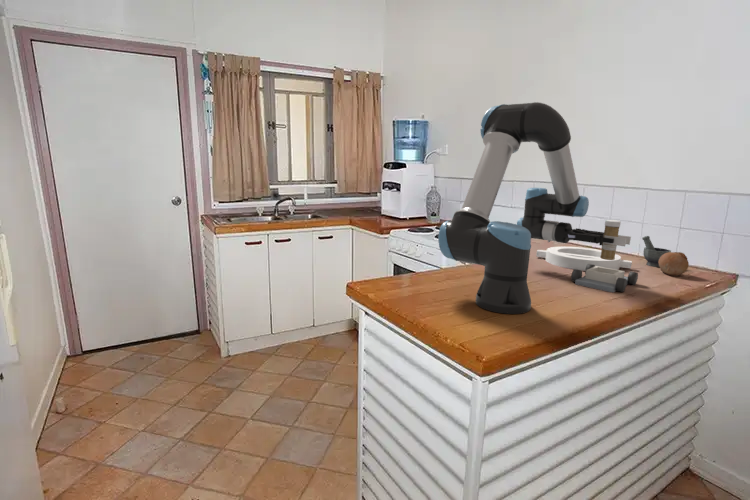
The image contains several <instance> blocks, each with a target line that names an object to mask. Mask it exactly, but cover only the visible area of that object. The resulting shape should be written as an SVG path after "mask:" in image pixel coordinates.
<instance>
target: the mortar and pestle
mask: <svg viewBox="0 0 750 500" xmlns="http://www.w3.org/2000/svg"><path fill="white" fill-rule="evenodd" d="M641 239H642V241H643V243H644V244H645V247H643V256H644V259H645V260H646V264H645V266H646V265H647V266H648V267H653V268H660V267H659V263H658V262H659V259H660V257H661V256H662V255H663V254H665V253H668V252H672V250H671V249H667V248H661V247H660V248H659V247H655V245H653V243H652V240H651V238H650V236H649V235H646V236H643V237H642V238H641Z"/></svg>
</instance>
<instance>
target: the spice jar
mask: <svg viewBox="0 0 750 500" xmlns="http://www.w3.org/2000/svg"><path fill="white" fill-rule="evenodd" d="M620 227H621V221H620V220H617V219H606V220H605V222H604V231H603V232H604V235H603V236H605V235H606V236H614V237H618V235H619V231H620ZM617 246H618V245H611V244H604V243H603V244H602V245H601V250H602V251H601V256H600V258H602V259H605V260H614V259H615V254H616V251H617Z"/></svg>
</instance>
